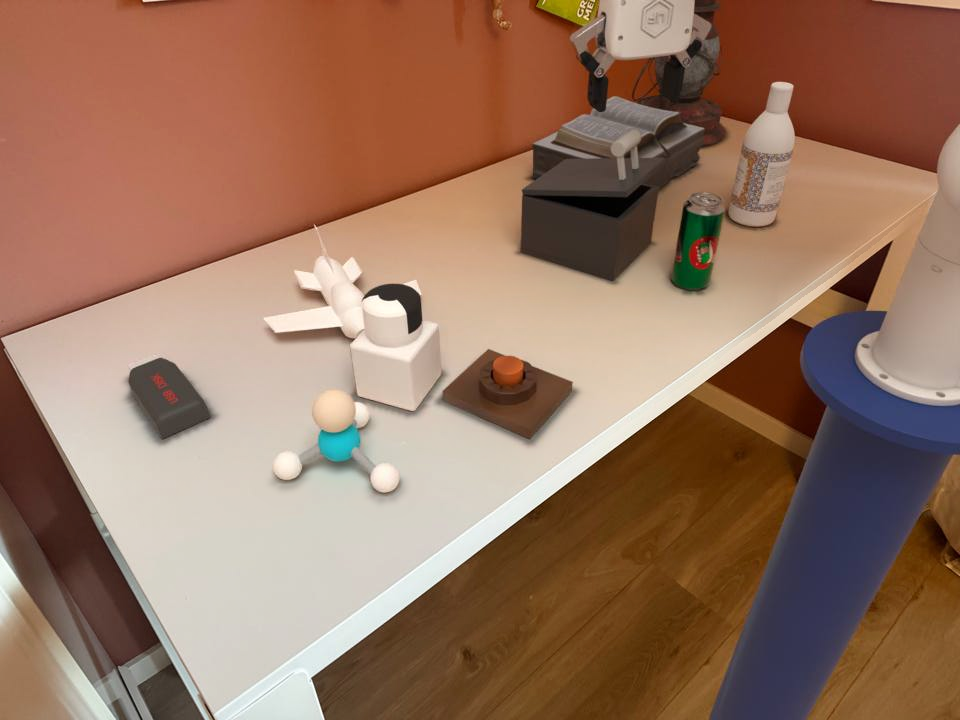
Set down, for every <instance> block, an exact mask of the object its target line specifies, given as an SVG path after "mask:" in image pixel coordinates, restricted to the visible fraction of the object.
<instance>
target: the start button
mask: <svg viewBox="0 0 960 720" xmlns="http://www.w3.org/2000/svg"><path fill="white" fill-rule="evenodd" d="M520 359H521V358H519V357H517V356H514V355H505V356H501V357H499V358H497V359H496V360H495V361H494V363H493V379H494V381H495V382H496V383H497V384H499V385H501V386H515V385H518V384H519V383H520V382H521V381H522V380H523V362H522V361H521V360H522V359H521V360H520Z"/></svg>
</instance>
